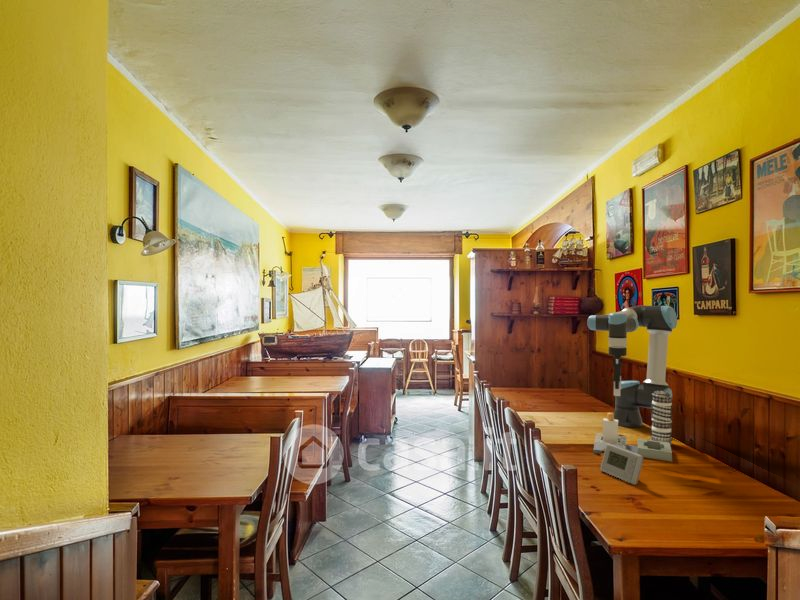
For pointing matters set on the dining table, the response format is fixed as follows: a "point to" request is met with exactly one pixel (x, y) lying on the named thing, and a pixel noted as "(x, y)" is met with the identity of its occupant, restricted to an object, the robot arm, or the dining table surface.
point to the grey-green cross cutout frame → (654, 449)
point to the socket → (601, 445)
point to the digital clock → (622, 463)
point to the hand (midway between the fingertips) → (617, 392)
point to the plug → (610, 429)
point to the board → (628, 447)
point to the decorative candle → (661, 417)
